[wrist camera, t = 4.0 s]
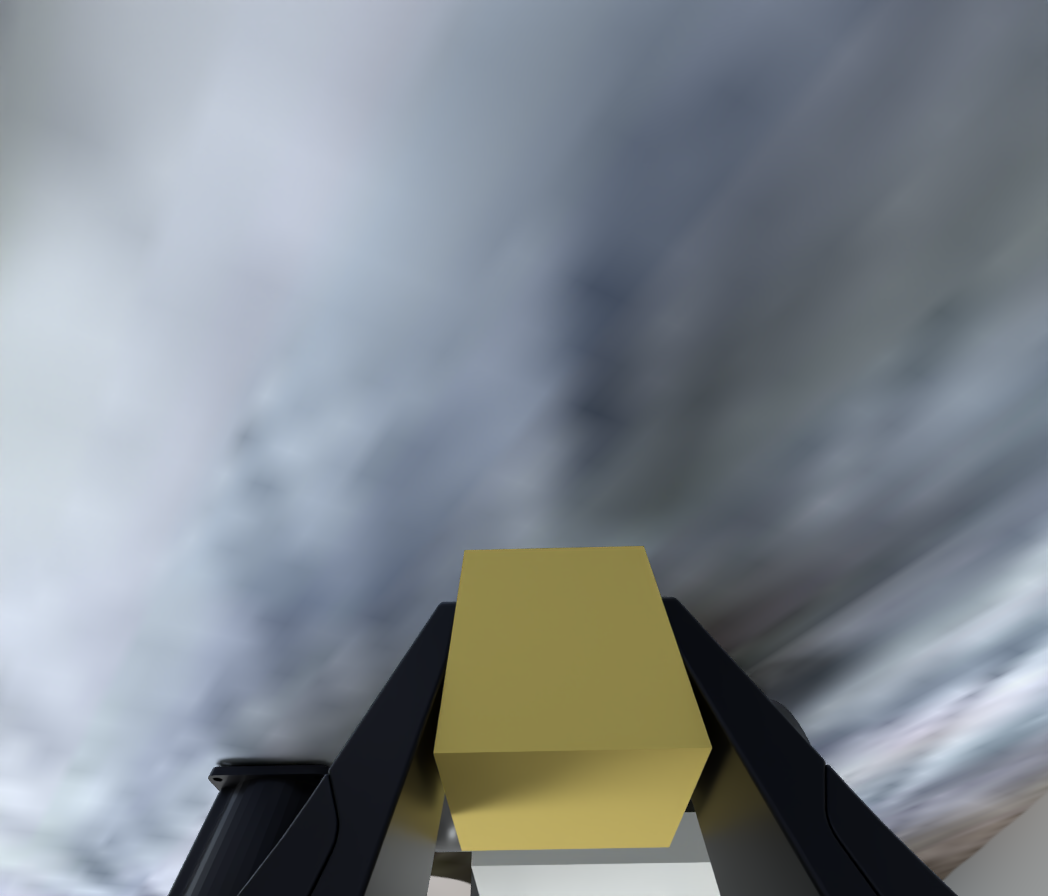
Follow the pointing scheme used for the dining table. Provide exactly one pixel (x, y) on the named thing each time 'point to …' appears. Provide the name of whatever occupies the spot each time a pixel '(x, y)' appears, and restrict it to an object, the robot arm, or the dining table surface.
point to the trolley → (595, 864)
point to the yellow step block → (565, 704)
